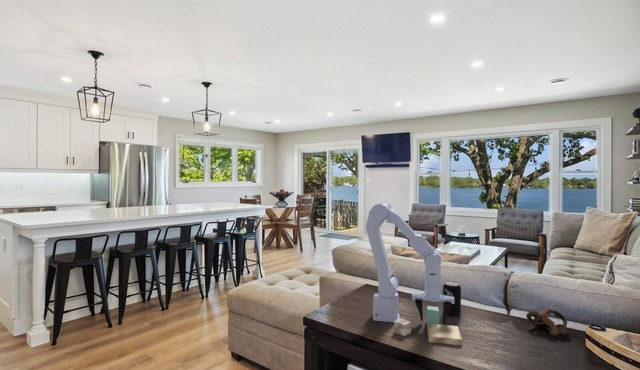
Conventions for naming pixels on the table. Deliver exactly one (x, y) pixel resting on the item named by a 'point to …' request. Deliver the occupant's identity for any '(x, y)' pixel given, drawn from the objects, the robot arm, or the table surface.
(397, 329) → the cream cube
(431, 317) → the teal block
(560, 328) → the rusty metal shackles
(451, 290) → the beverage can
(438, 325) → the cream square slab
